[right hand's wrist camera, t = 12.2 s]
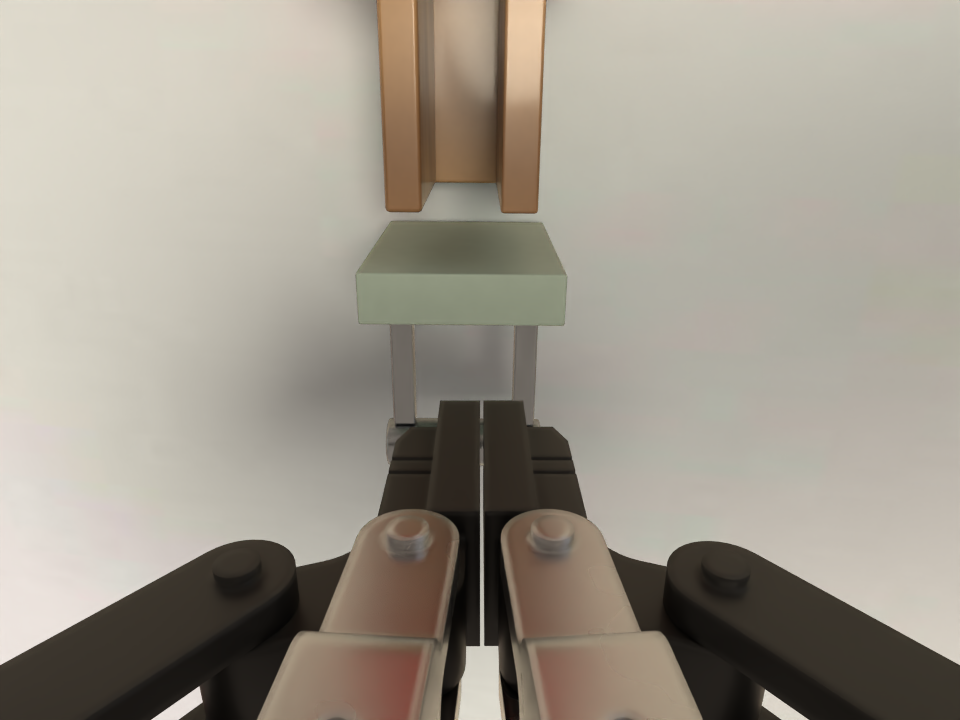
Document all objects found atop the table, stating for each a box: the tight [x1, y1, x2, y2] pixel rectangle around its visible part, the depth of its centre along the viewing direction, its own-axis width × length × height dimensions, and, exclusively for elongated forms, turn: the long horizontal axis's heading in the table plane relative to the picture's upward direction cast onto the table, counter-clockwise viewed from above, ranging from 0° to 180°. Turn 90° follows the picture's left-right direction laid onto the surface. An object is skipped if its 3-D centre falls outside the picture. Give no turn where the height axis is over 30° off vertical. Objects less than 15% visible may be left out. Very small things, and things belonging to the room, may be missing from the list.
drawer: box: [356, 0, 567, 466], centre depth 16 cm, size 23×5×6 cm, turn 179°
